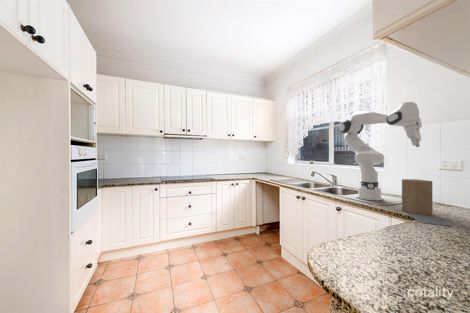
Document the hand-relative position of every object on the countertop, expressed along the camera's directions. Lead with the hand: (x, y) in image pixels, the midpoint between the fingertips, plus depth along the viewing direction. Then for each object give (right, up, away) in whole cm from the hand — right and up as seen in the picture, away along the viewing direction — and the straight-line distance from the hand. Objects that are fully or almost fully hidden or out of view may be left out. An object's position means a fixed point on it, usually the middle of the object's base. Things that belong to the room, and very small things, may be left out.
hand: (416, 146), depth 126 cm
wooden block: (-6, -41, -6) cm, 42 cm away
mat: (-13, -41, -20) cm, 47 cm away
